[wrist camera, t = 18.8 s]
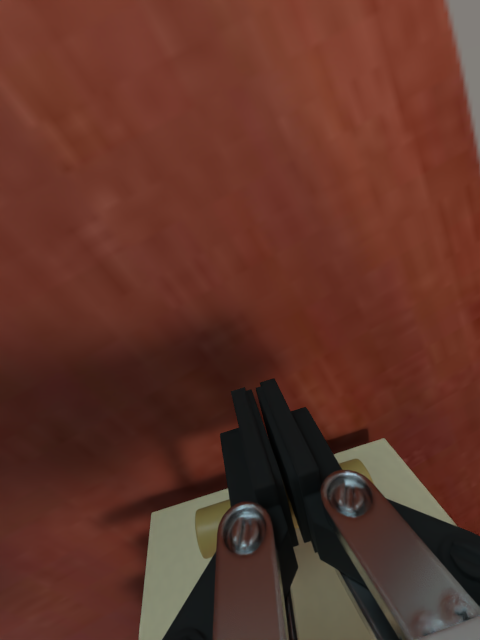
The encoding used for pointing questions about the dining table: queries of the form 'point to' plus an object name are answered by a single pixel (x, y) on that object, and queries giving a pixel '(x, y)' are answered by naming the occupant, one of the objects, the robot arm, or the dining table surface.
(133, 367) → the dining table surface
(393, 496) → the drawer
